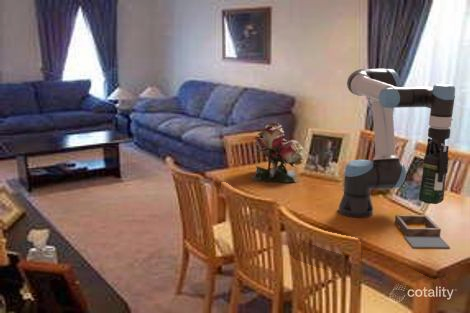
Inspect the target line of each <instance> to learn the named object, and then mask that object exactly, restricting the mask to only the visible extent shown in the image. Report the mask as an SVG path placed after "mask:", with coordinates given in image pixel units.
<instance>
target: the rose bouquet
mask: <svg viewBox="0 0 470 313" xmlns="http://www.w3.org/2000/svg"><path fill="white" fill-rule="evenodd" d="M282 127H283V125H281V124H280V123H278V122H272V123H269V124H267V125H265V127H263V126H261V130H262V131H260V132H258V133H257V136H254V139H255V140H256V142H255V145H257V146H259V147H260V148H258V149H256V150H255V153H258V152H263V153H264V155H265V156H266V158H268V161H267V162H268V164H267V169H266V168H264V167H260V166H258V165H256V166H255V168H256V170H255V172H254V174H253V175H252V176H251V179H252V182H254V183H255V182H256V183H262V182H263V183H292V182H294V183H297V181H298V179H297V176H298V175H297V174H296V171H295V170H294V169H287V168H286V166H287V164H289V165H290V166H291V168H295V169H297V167H296V166H298V165H302V164H303V161H304V158H303V157H304V156H306V150H305V148H304V147H303V146H302V144H301V143H300V142H299V141H298V140H296V139H295V140H294V139H291V140H287V139H285V136H286V135H285V131H284V129H283V128H282ZM279 163H280V164H279ZM271 164H272V167H271ZM278 164H279V165H278ZM294 165H295V166H294Z"/></svg>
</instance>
